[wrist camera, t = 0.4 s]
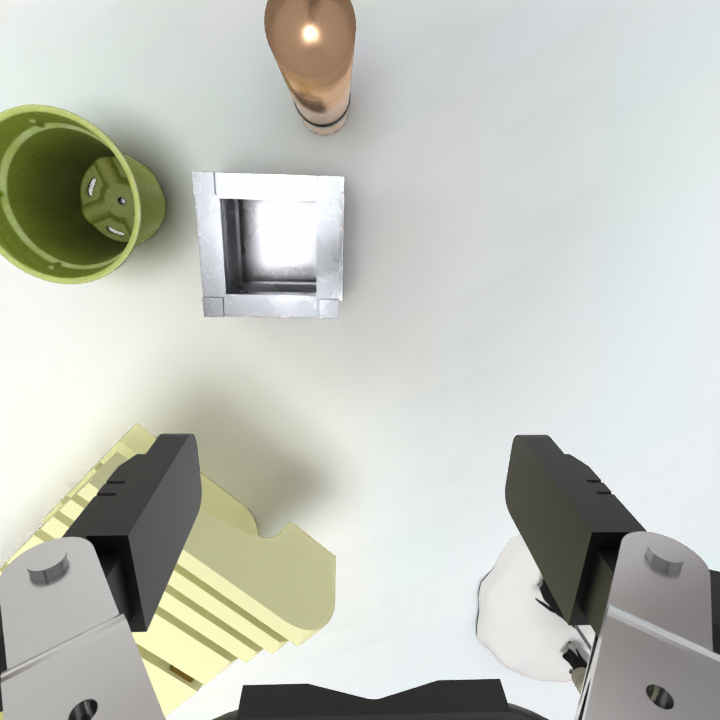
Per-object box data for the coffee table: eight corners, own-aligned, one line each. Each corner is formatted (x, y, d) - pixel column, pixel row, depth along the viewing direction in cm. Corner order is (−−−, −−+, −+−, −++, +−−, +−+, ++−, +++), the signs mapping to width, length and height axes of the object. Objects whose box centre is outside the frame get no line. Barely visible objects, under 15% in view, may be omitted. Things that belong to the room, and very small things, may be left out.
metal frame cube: (220, 173, 33) (185, 165, 26) (344, 177, 34) (345, 170, 26) (228, 296, 36) (199, 321, 29) (342, 298, 37) (343, 323, 29)
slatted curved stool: (134, 650, 48) (22, 893, 31) (-4, 567, 44) (-218, 794, 27) (336, 474, 42) (334, 656, 25) (200, 357, 38) (88, 482, 21)
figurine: (639, 667, 51) (771, 856, 35) (476, 680, 51) (533, 875, 35) (653, 505, 46) (812, 639, 30) (473, 520, 46) (537, 661, 30)
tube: (298, 78, 32) (260, -35, 16) (349, 81, 32) (358, -30, 17) (299, 135, 33) (265, 76, 18) (348, 136, 33) (355, 81, 18)
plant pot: (46, 237, 34) (-47, 248, 26) (70, 106, 31) (-25, 72, 23) (169, 283, 36) (119, 307, 28) (203, 162, 33) (158, 149, 25)
